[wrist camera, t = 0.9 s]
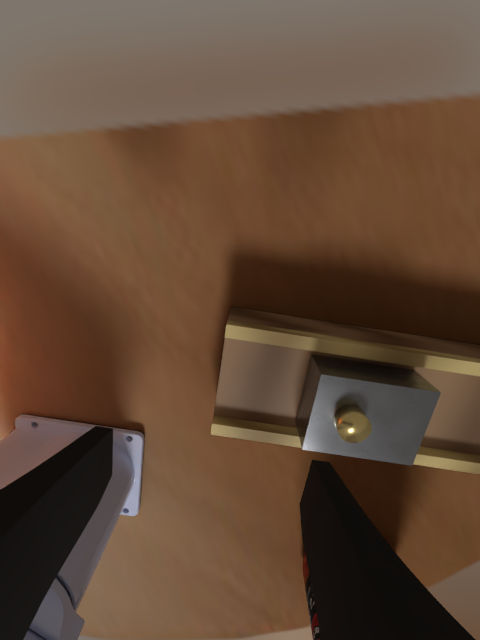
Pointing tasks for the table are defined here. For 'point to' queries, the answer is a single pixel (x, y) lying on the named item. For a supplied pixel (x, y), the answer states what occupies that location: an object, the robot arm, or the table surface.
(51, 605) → the robot arm
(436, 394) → the grey block with knob
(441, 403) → the wooden channel tray
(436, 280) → the table surface
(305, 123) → the table surface
